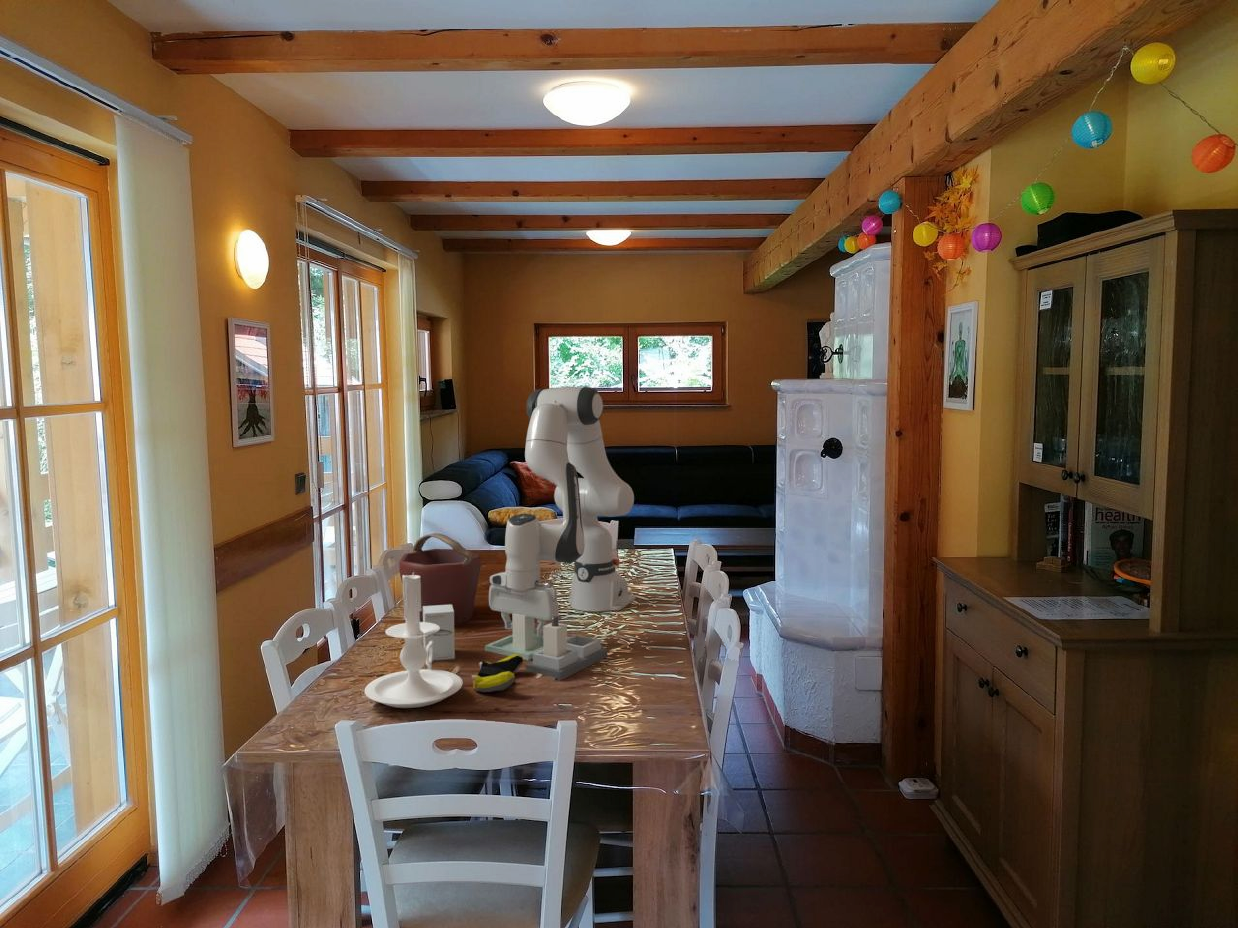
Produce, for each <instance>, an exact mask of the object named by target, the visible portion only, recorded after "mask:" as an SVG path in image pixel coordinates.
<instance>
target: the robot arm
mask: <svg viewBox="0 0 1238 928" xmlns="http://www.w3.org/2000/svg"><path fill="white" fill-rule="evenodd" d="M603 412H604V402H603V398H602V395H601V393H600V392H599V391H598V390H597V389H596V388H593V387H591V386H590V387H588V386H583V387H579V386H562V387H559V386H558V387H552V388H538V389H535V390H534V391H532V392H531V393H530V395H529V396H528V398H527V401H526V414H527V416H528V418H529V419H528V420H529V424H528V428H527V432H526V439H525V449H524V450H525V451H524V458H525V463H526V465H527V466H528V468H529V470H531V471H532V472H533V473H534V474H535V475H537V476H539V477H540V478H543V479H545V480H547V481H549V482H551V483H554V485H556V487H555V489H554V494H553V498H554V502H555V505H556V506H557V508H558V509H559V510H560V511H561V512H562V518H563V519H562V520H563V521H562V523H545V522H539V520H538V518H537V516H536V515H535V514H531V513H518V514H514V515H512V516H511V517H509V518H508V520H507V522H506V526H505V527H506V528H505V534H504V535H505V536H504V552H505V555H506V563H505V570H503V571H501V572H498V573H494V574H492V575H490V577H489V583H490V586H489V588H488V589H489V590H488V606H489V608H490V609H491V611H496V612H500V615H501V618H502V620H503V622H504V628H505V629H506V630H510V631H511V630H513V626H512V620H511V616H510V615H511V614H518V615H523V616H526V617H531V618H535V619H536V623H538V624H537V625H536V627H535V628H534V635H538V636H543V626H545V625H546V623H547V622H549V621H552V617H553V616H557V617H559V613H560V612H559V603H558V597H557V588H556V587H555V586H554V585H553V584H552V583H551V582H544V581H541V563H540V561H551V562H558V563H564V564H568V565H570V564H573V569H574V575H573V576H572V578H571V579H572V580H571V590H570V591H571V592H570V597H569V598H568V600H567V602H568V603H569V604H570V607H571V608H572V609H574V610H578V611H583V612H606V611H607V612H608V611H620V610H622V609H624V608H625V607H627V606H628V605H629V604H630V603H632V602H634V601H635V600H636V599H637V597H636V595H634V594H632V593H629V586H628V584H629V583H628V581H627V579H625V578H624V577H623V576H622V575H621V574H619V573H618V572H617V571H616V569H617V568H616V566H619V565H620V564H621V560H620V559H619V558H613V537H612V534H611V532H610V531H609V530H608V529H607V528H606V527H604V526H603V525H602V524H601V523H600V521H599V519H598V516H599V517H607V518H610V517H612V518H613V517H623V516H626V515H627V514H628V513H629V512H630V511H631V510H632V508H633V505H634V503H635V502H634V501H635V494H634V491H633V489H632V487H631V486H630V485H629V484H628V483H627V482H625V481H624V480H622V479H621V477H620V476H618V474H617V473H616V471H615V470H614V469H613V467H612V466H611V463H610V461H609V459H608V456H607V453H606V448H605V444H604V443H605V442H604V438H603V432H602V427H601V423H600V419H601V417H602V415H603ZM578 473H579V474H580V475H581V476H582V477H579V476H578Z"/></svg>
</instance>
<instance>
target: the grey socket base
mask: <svg viewBox="0 0 1238 928" xmlns="http://www.w3.org/2000/svg"><path fill="white" fill-rule="evenodd" d="M542 636H543V649H542V650H540V651H538V652H536V653H533V658H532V661H530V662H528V663H526V664H525V671H526V672H529V673H530V672H531V673H535V674H538V675H542V676H548V677H550V678H554V679H555V680H554V681H558V680H559V682H560V681H563V680H565V679H567V678H569V677H570V676H573V675H574V674H577V673H578V672H580V671H582V670H584V669H586V668H588V667H591V666H592V665H593V664H595V663H598V662H600V661H602V660H604V659H605V658H607V657H608V648H605V647H602V645H601V644H602V641H601V639H600V638H595V637H590V636H586V635H580V634H574V635H572V636H569V637H568V625H567V624H566V623H559V616H553V617H552V620H551V622H550V623H547V624H545V625H544V626H543V634H542Z"/></svg>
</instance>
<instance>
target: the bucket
mask: <svg viewBox="0 0 1238 928" xmlns="http://www.w3.org/2000/svg"><path fill="white" fill-rule="evenodd" d="M430 538H434V539H435V538H436V539H438V540H439V541H442V542H444V543H445V544H447V545H448V546H450V549H449V548H447V549H445V548H433V549H425V550H423V549H422V548H423V547H424V545H425V544H426V541H428V540H430ZM481 557H482V556H481V555H480V554H477V553H476V552H473V551H472V550H469V549H467V548H465V547H464V546H462V544H461V543H460V542H458V541H457V540H455V539H453V538H452V537H450V536H447V535H445V534H442V533H437V532H435V533H429V534H428V533H427V534H425V535H423V536H421V537H419V538H418V539H417V540H416V541H415V543H414V545H413V546H412V552H409V553H408V552H407V553H404V554H403V555H402V557H401V558H400V559H399V561H398V565H399V567H398V568H399V569H398V570H399V571H398V572H399V577H400V579H401V580H400V581H401V584H402V586H403V578H402V575H412V574H413V572H414V574H413V575H418V576H420V582H421V609H422V611H420V622H423V606H435V605H451V604H452V606H453V610H454V626H456V627H459V626H461V625H463V624H465V623H466V621H467V620H469V619H471V620H472V617H473V612H474V605H475V601H476V595H477V594H476V593H477V588H478V584H479V580H480V579H479V578H480V573H481V567H482V565H481V564H482V562H481V561H482V559H481ZM469 621H470V620H469ZM464 622H465V623H464ZM467 622H468V621H467ZM462 623H463V624H462ZM460 624H461V625H460ZM458 625H459V626H458Z"/></svg>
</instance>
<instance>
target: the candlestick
mask: <svg viewBox="0 0 1238 928" xmlns="http://www.w3.org/2000/svg"><path fill="white" fill-rule="evenodd" d="M413 574H414V572H413ZM413 574H412V575H402V578H403V585H402V597H403V619H404V620H405V622H404V623H398V624H395V625H392V626H390V627H388V628H386V630H385V631H384V632H385V634H386V635H387V636H389V637H393V638H398V639H403V640H404V645H403V647H402V649H401V651H400V653H399V660H400V664H401V665H402V666H403V667H404V669H405V670H402V671H396V672H392V673H388V674H386V675H385V674H384V675H382V676H380V677H378V678H376V679H374V680H372V681H370V682H369V683H368V684H367V685H366V687H365V688H364V695H365V696H366V697H367V698H368V699H370V700H371V701H375V702H377V703H380V704H383V705H386V706H389V707H392V708H397V709H398V708H399V709H412V708H415V709H416V708H422V707H427V706H430V705H434V704H436V703H439V702H441V701H443V700H445V699H447V698H448V697H450V696H452V695H454V694H455V693H457V692H458V691H459V690H460V689H461V688H462V686H463V684H464V682H463V679H462V677H460V676H459V675H458V674H455V673H454V672H451V671H446V670H442V669H440V670H439V669H433V668H432V663H433V662H432V659H433V646H432V645H433V641H430V642H429V644H428V645H427V646H426V649H425V648H424V644H423V642H422V640H423V637H424V636H428V635H431V634H434V633H436V632H438V631H439V630H440V627H439V626H438V625H436V624H433V623H428V622H420V611H422V609H421V582H420V576H418V575H413ZM428 656H429V658H428ZM424 665H426V666H427V668H424V669H423V667H424Z"/></svg>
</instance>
